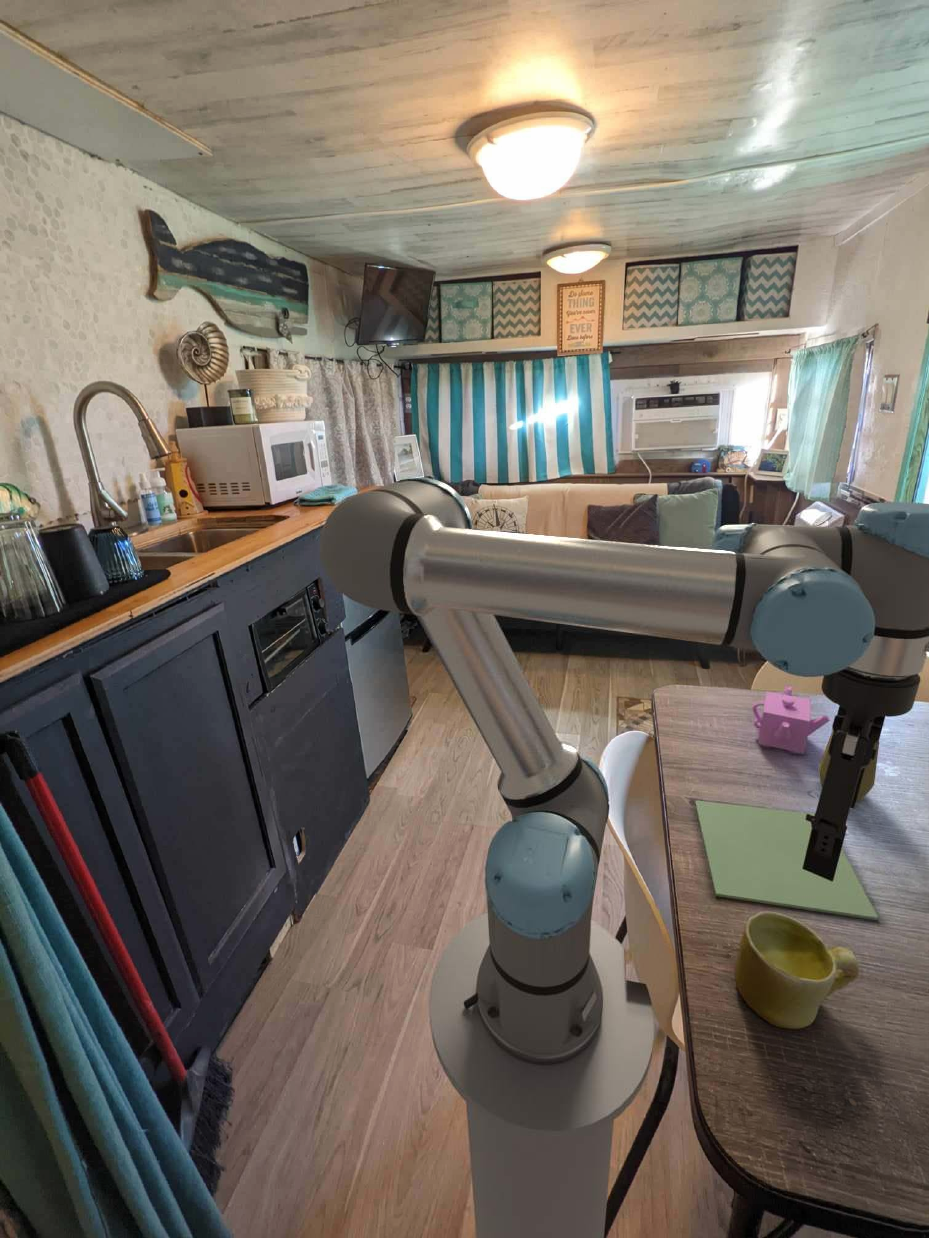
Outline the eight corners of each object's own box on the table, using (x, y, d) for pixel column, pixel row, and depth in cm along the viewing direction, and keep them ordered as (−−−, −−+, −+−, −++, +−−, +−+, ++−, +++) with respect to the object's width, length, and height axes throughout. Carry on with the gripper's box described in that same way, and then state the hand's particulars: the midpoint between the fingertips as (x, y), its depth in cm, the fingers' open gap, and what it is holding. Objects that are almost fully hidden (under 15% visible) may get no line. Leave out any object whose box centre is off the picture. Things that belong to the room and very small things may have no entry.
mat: (715, 896, 77) (716, 893, 77) (694, 802, 95) (695, 800, 95) (877, 920, 72) (878, 917, 72) (823, 817, 90) (824, 814, 90)
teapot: (823, 776, 100) (833, 731, 96) (743, 757, 106) (750, 713, 103) (822, 728, 114) (831, 687, 111) (752, 714, 121) (758, 674, 117)
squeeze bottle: (811, 797, 95) (831, 707, 88) (817, 773, 101) (836, 687, 94) (868, 815, 90) (893, 722, 84) (870, 789, 96) (894, 699, 90)
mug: (732, 1023, 59) (759, 941, 58) (716, 962, 69) (739, 891, 68) (857, 1076, 56) (888, 991, 55) (822, 1004, 66) (848, 930, 65)
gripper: (910, 734, 42) (852, 931, 50) (930, 632, 60) (885, 790, 67) (800, 704, 47) (763, 889, 55) (848, 618, 64) (814, 768, 72)
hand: (830, 835), depth 61 cm, fingers open, 13 cm apart
